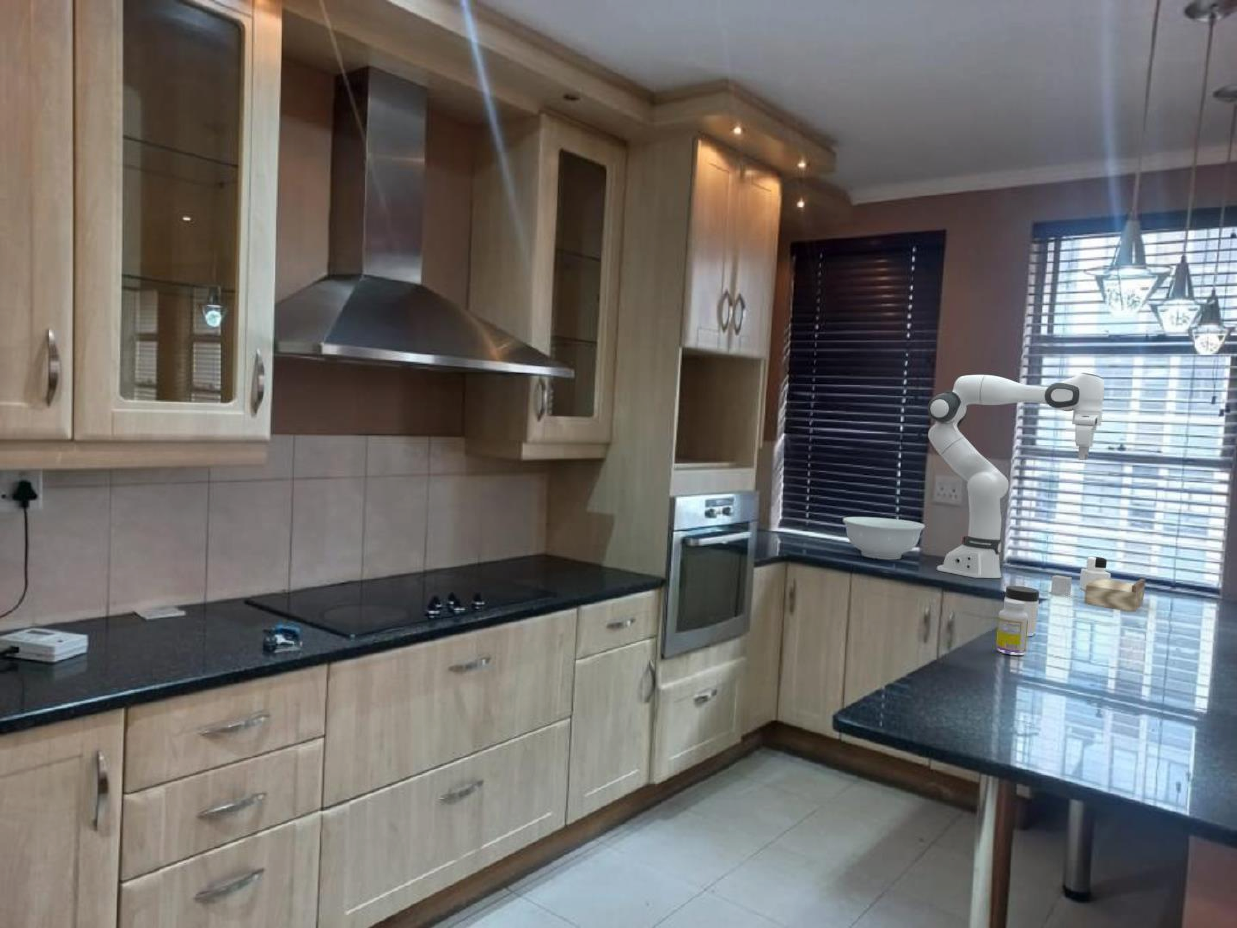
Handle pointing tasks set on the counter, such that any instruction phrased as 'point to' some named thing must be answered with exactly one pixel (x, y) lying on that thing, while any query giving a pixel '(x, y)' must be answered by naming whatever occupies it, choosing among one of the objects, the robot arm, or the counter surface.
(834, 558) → the counter surface
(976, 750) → the counter surface
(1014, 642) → the supplement bottle
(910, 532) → the bowl
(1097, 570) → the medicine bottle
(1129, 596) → the riser
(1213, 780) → the counter surface
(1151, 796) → the counter surface
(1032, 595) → the jar
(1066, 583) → the lock block
